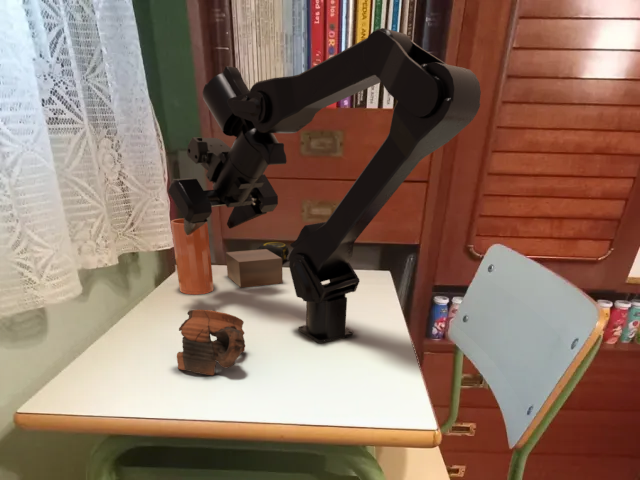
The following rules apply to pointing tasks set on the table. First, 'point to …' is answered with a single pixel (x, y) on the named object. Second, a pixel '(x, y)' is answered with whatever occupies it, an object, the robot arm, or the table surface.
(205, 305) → the table surface
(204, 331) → the pottery mug
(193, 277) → the tumbler
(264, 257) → the block
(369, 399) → the table surface
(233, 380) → the table surface
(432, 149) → the robot arm
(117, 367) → the table surface
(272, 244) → the tape measure
